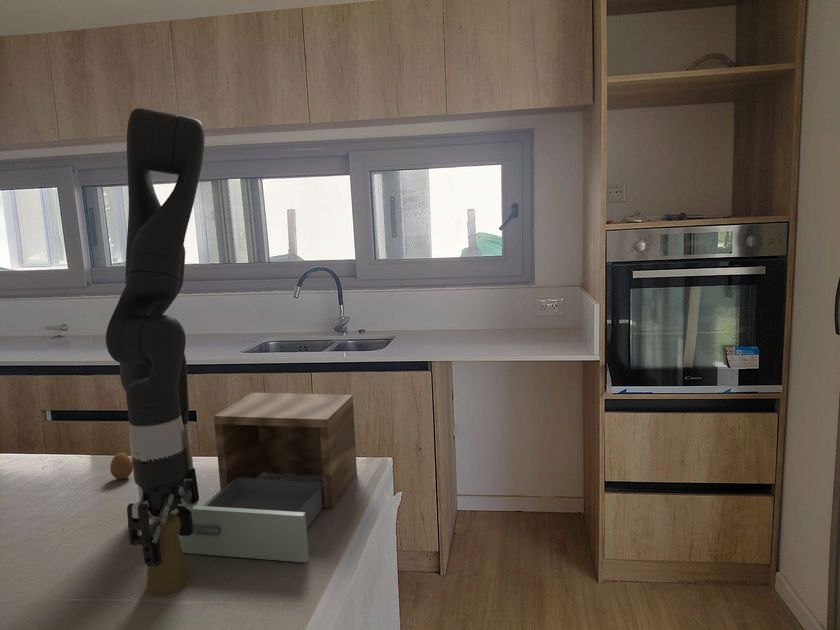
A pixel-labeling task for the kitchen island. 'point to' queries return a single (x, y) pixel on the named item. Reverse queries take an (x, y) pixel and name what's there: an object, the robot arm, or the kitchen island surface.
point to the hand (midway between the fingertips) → (170, 549)
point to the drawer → (256, 519)
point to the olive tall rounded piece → (168, 561)
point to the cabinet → (289, 439)
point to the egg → (121, 466)
